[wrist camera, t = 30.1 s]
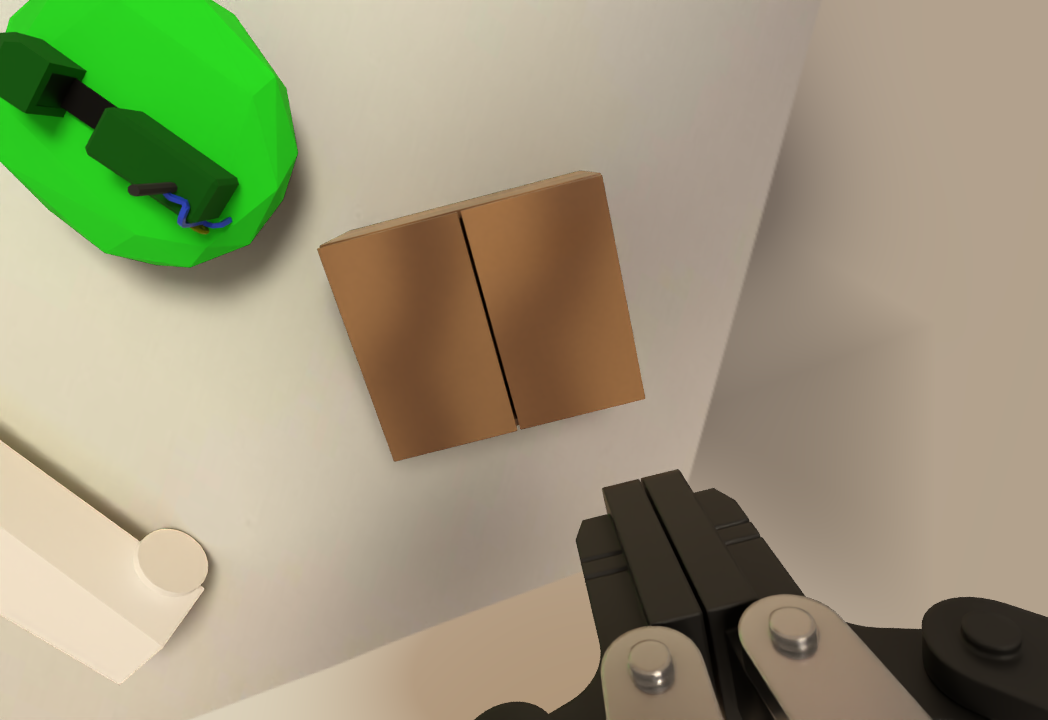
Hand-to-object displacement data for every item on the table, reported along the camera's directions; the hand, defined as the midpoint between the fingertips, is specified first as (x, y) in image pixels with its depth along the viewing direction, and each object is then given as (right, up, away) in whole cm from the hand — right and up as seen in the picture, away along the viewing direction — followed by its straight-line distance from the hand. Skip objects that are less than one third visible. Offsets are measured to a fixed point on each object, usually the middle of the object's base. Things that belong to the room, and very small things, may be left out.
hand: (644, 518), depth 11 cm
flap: (-1, +5, +16) cm, 17 cm away
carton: (-4, +7, +22) cm, 23 cm away
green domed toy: (-19, +15, +18) cm, 30 cm away
